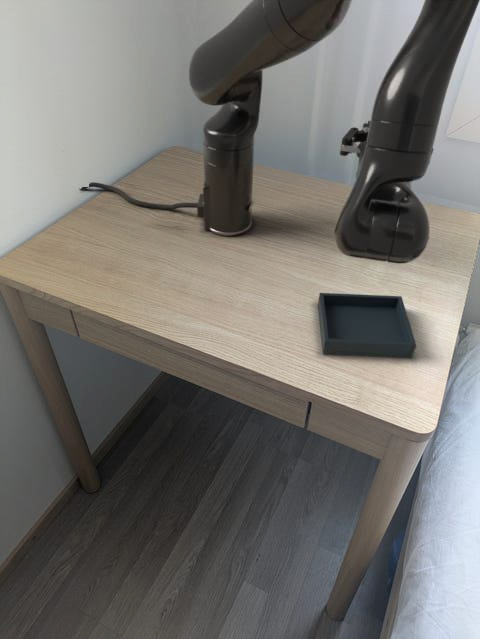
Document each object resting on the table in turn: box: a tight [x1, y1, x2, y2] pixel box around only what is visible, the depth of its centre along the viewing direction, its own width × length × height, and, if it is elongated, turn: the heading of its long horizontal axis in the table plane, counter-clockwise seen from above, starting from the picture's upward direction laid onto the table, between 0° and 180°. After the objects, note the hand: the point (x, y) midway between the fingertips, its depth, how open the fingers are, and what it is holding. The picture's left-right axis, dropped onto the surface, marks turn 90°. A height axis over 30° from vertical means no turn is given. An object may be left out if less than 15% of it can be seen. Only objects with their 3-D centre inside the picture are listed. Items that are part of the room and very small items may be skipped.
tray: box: [317, 292, 417, 359], centre depth 76 cm, size 13×11×3 cm
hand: (386, 128), depth 82 cm, fingers closed on hair serum, 5 cm apart
